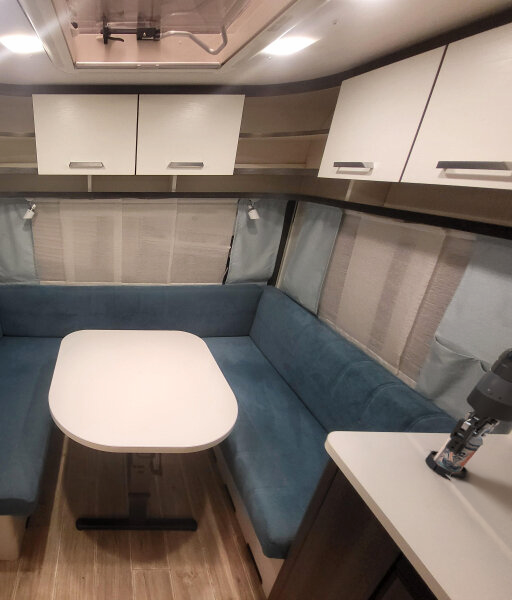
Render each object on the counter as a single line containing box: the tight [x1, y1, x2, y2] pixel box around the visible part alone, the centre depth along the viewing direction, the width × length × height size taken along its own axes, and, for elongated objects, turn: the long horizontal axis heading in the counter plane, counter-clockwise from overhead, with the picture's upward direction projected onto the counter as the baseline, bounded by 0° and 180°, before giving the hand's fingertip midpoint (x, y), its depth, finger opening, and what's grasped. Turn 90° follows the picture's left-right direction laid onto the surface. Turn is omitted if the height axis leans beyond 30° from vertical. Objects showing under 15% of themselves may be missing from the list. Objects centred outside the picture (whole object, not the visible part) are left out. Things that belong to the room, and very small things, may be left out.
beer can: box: [433, 432, 484, 474], centre depth 74 cm, size 5×5×12 cm
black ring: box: [425, 450, 469, 481], centre depth 77 cm, size 7×7×2 cm
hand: (459, 447), depth 74 cm, fingers open, 5 cm apart
